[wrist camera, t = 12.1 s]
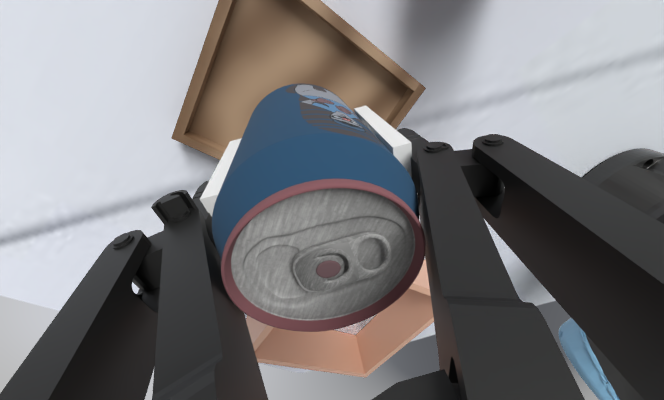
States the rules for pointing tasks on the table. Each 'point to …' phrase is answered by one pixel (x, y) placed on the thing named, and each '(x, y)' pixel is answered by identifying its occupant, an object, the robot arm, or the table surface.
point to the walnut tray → (284, 68)
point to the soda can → (315, 216)
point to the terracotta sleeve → (349, 337)
